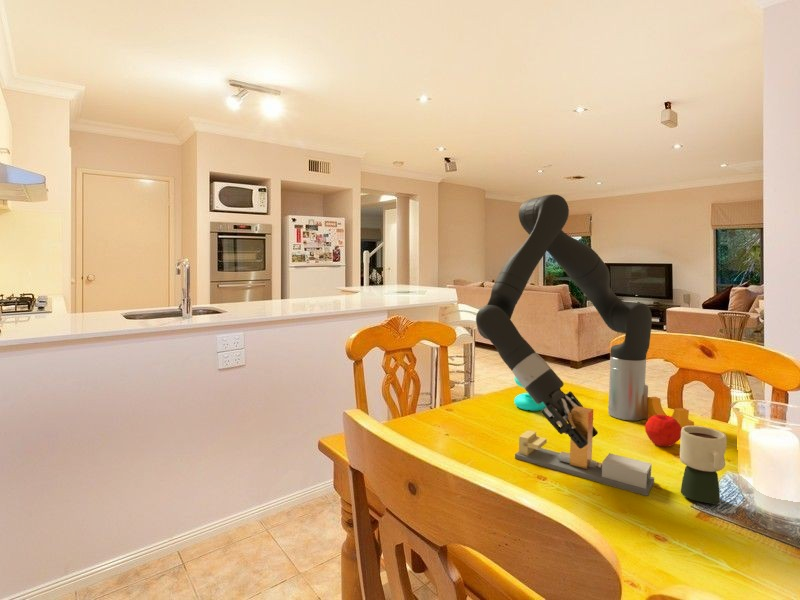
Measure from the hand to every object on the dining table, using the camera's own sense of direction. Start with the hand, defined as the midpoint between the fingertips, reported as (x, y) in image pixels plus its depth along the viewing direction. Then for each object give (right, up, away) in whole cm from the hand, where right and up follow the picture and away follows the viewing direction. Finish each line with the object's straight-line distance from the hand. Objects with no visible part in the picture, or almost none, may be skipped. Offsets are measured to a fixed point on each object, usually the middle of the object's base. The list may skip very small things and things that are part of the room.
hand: (589, 440), depth 96 cm
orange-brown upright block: (+2, -6, -1) cm, 6 cm away
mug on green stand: (+17, -8, -10) cm, 21 cm away
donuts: (0, -3, +44) cm, 44 cm away
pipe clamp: (+33, -5, +28) cm, 44 cm away
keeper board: (-1, -7, +2) cm, 7 cm away
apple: (+24, -6, +15) cm, 29 cm away
